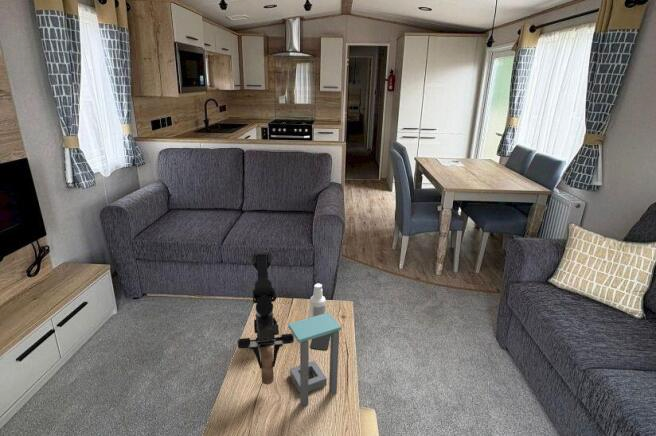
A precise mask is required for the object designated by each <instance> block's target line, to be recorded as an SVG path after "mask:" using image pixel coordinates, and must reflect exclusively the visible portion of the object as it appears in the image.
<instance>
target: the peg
mask: <svg viewBox="0 0 656 436" xmlns="http://www.w3.org/2000/svg"><path fill="white" fill-rule="evenodd" d="M259 354H260V360H261V370H260V373H261V382H262V384H263V385H267V386H268V385H271V384H273V382H274V380H275V379H274V367H273V354H274V348H273V347H272V346H271V345H269V346H264V347H262V348H260V350H259Z"/></svg>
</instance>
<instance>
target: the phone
mask: <svg viewBox="0 0 656 436" xmlns="http://www.w3.org/2000/svg"><path fill="white" fill-rule="evenodd" d="M310 341H311V342H310V345H309V348H310V349H311V350H317V351H328V350H329V345H330V342H331V333H330V334H327V335H324V336H320V337H317V338H314V339H311V340H310Z"/></svg>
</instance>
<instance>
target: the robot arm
mask: <svg viewBox="0 0 656 436" xmlns="http://www.w3.org/2000/svg"><path fill="white" fill-rule="evenodd" d="M271 263H273V256H272V253H269V251H256V252H254V254H251V264H253V269H254V270H255V272H256V273H257V280H256V281H255V282H254V288H253V289H252V304H255V312H256V313H255V319H254V320H253V326H254V327H253V328H254V334H256V338H255V339H251V338H250V337H245V338H244V337H243V338H238V340H237V349H239V350H241V349H249V351H252V352H253V353H254V355H255V358H256V361H257V363H258V366H259V369H261V354H260V350H259V348H260V349H261V348H262V347H264V346H272V345H273V368H275V365H276V361H277V357H278V353H279V349H280V348H282V347H284V345H289V344H293V343H294V341H295V340H294V339H295V337H294V335H293V333H285V334H284V333H283V334H281V335H280V334H279V333H280V331H279V324H278V321H277V320H276V317H274V313H273V312H274V304H273V303H274V302H276V300H277V292H276V291H277V290H276V289H275V288H274V287H273V284H272V281H271V280H270V279H269V271H270V268H271ZM279 335H280V336H279ZM275 336H278V337H275Z"/></svg>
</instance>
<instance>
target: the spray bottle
mask: <svg viewBox="0 0 656 436" xmlns="http://www.w3.org/2000/svg"><path fill="white" fill-rule="evenodd" d="M312 294H313V295H312V296H310V299H309V304H310V305H309V318H311V317H314V316H318V315H321V314H325V313H326V301H327V300H326V297H325V296H323V295H324V294H323V284H321V283H319V282H318V283H316V284H314V287H313V293H312Z"/></svg>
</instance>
